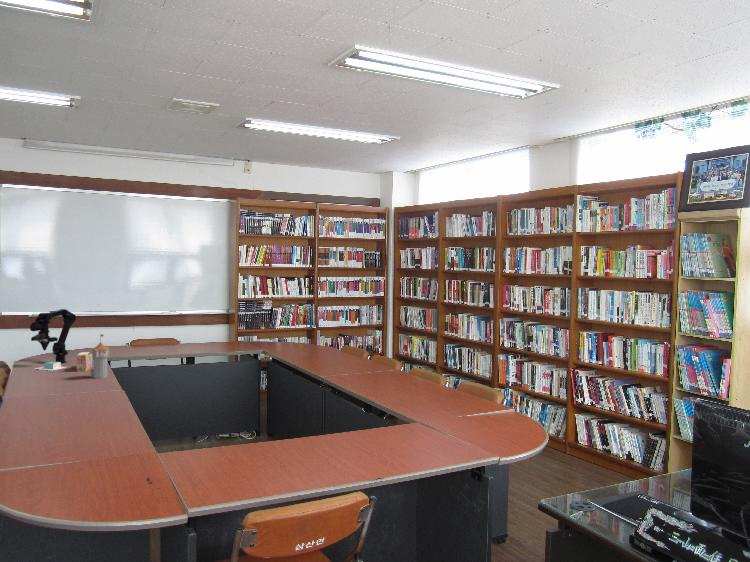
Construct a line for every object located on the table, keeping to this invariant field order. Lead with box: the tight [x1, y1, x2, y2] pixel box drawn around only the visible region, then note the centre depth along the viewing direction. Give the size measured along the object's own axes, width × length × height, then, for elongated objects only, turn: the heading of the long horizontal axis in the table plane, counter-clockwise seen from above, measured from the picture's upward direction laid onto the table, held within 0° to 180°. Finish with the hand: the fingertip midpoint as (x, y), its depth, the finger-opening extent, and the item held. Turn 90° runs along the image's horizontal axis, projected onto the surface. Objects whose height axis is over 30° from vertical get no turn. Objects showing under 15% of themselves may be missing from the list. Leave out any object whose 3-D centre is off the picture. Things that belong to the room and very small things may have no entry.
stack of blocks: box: [76, 351, 93, 373], centre depth 438 cm, size 21×6×12 cm, turn 14°
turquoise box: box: [43, 361, 62, 369], centre depth 436 cm, size 7×4×8 cm
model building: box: [89, 334, 110, 379], centre depth 409 cm, size 14×12×30 cm
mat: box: [34, 366, 67, 372], centre depth 437 cm, size 14×16×1 cm
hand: (44, 350), depth 446 cm, fingers closed
